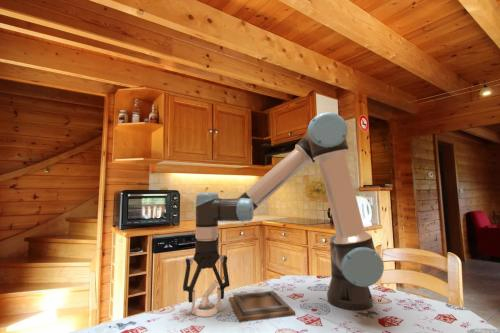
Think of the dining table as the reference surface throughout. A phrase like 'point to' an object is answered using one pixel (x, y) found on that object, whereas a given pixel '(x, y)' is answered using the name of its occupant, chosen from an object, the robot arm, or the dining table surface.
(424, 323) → the dining table surface
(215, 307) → the hook
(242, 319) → the picture frame
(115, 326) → the dining table surface
